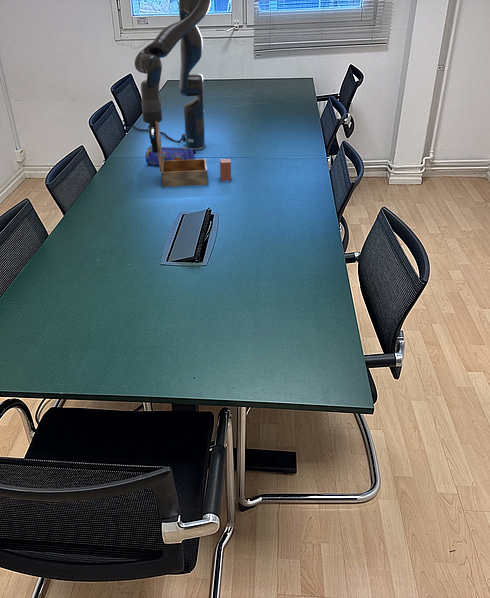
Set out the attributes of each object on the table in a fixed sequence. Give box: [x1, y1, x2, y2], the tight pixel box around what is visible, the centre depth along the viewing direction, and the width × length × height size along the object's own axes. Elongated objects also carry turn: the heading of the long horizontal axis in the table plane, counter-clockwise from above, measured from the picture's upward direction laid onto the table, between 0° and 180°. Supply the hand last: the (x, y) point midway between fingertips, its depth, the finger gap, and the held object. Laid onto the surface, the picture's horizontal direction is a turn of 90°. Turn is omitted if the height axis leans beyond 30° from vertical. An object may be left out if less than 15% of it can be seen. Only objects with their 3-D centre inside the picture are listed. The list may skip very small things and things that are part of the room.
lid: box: [155, 121, 163, 173], centre depth 221 cm, size 19×14×1 cm
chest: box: [160, 158, 209, 188], centre depth 229 cm, size 19×14×7 cm
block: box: [219, 158, 232, 182], centre depth 228 cm, size 4×4×8 cm
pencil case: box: [145, 144, 197, 166], centre depth 242 cm, size 22×9×10 cm, turn 71°
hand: (155, 152), depth 224 cm, fingers closed
